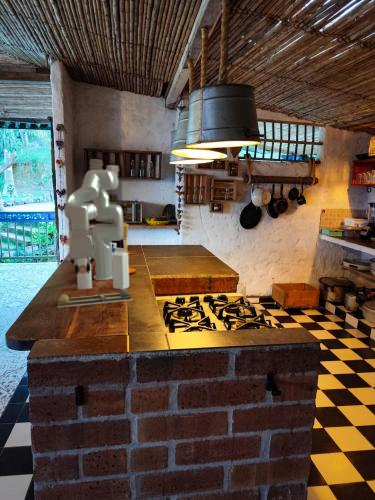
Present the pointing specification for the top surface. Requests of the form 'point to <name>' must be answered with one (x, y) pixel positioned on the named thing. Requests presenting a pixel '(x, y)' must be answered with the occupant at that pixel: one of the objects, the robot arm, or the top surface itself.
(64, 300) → the ochre ball
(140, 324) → the top surface
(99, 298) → the board
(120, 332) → the top surface
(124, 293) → the charcoal ball
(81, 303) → the wooden picture frame
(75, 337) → the top surface
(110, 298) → the wooden rectangular frame
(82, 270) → the terracotta ball
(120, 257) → the milk
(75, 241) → the robot arm
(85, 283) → the cylindrical container
